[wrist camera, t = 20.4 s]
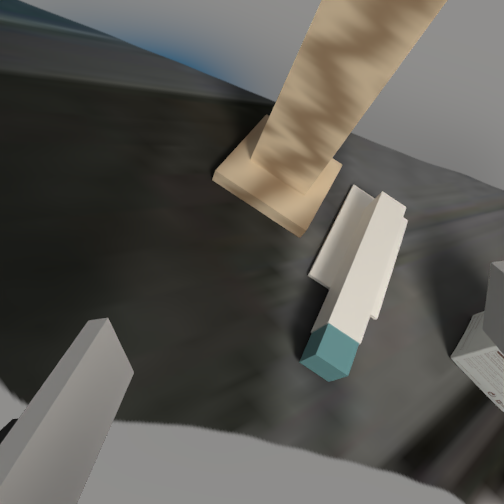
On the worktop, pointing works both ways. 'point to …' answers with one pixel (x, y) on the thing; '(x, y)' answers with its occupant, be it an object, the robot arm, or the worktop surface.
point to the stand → (322, 105)
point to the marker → (353, 291)
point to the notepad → (341, 239)
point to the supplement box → (481, 360)
